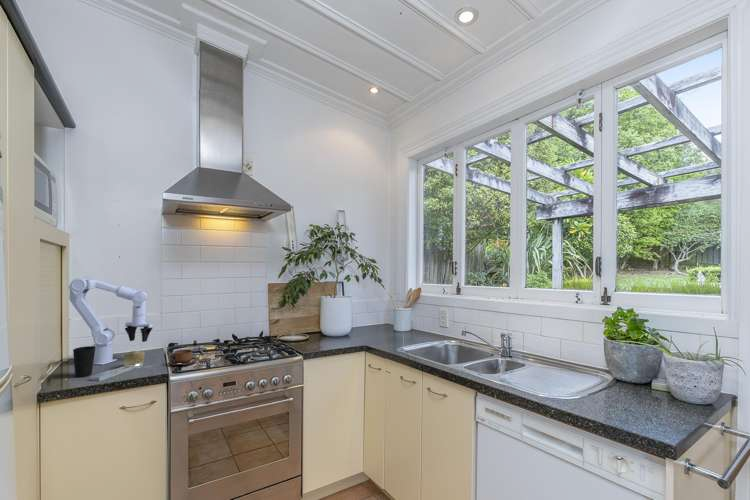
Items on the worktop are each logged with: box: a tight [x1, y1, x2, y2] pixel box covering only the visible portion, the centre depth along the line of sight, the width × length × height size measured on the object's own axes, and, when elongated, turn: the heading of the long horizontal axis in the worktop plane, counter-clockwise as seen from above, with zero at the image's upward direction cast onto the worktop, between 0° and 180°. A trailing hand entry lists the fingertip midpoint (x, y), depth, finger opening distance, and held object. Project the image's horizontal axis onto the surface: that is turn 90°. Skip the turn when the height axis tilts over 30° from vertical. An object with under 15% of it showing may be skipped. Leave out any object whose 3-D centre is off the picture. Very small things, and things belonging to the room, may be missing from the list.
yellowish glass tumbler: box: [123, 350, 146, 365], centre depth 165 cm, size 6×6×5 cm
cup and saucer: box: [168, 349, 198, 366], centre depth 171 cm, size 12×12×6 cm
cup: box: [72, 345, 96, 379], centre depth 152 cm, size 8×8×12 cm
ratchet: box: [90, 362, 144, 382], centre depth 157 cm, size 7×22×5 cm, turn 169°
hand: (138, 341), depth 177 cm, fingers open, 7 cm apart
